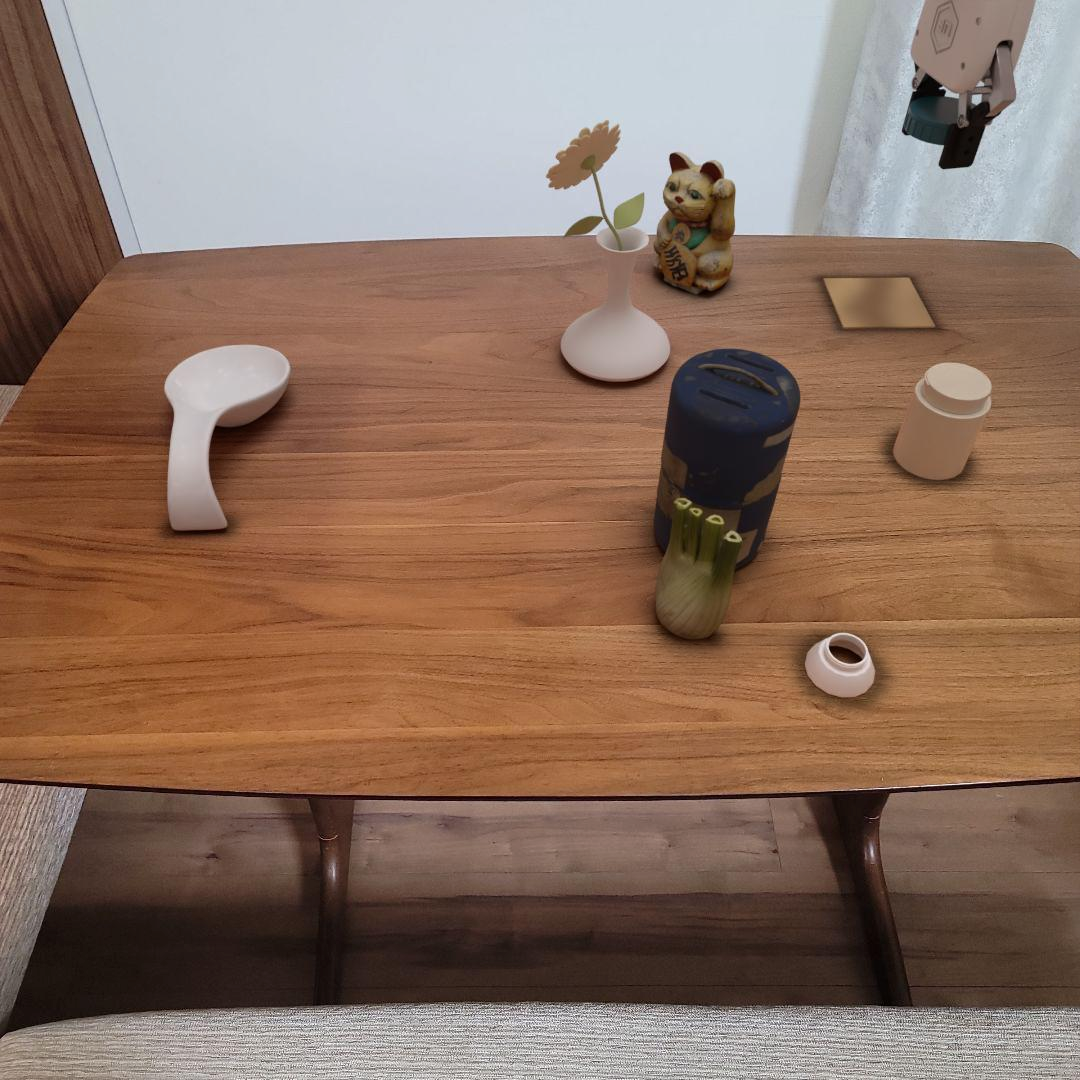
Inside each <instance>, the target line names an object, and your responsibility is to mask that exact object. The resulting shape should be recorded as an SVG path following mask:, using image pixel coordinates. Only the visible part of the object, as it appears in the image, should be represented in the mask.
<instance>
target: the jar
mask: <svg viewBox="0 0 1080 1080" xmlns="http://www.w3.org/2000/svg"><path fill="white" fill-rule="evenodd" d="M992 389H993V385H992V382H991V380H990V378H989V377H988V376H987V375H986V374H985V373H984V372H983V371H981V370H979V369H977V368H975V367H973V366H971V365H968V364H965V363H961V362H960V363H959V362H948V361H947V362H940V363H937V364H935V365H933V366H931V367H929V368H928V369H927V370H926V371H925V373H924V375H923V378H921V379H920V380H919V381H918V382H917V383H916V385H915V387H914V390H913V393H912V395H911V398H910V401H909V404H908V406H907V410H906V412H905V414H904V417H903V420H902V423H901V426H900V428H899V431H898V434H897V437H896V439H895V441H894V445H893V449H892V452H893V458H894V459H895V461H896V462H897V464H898V465H899V466H900V467H902V469H904V470H905V471H907V472H908V473H910V474H912V475H915V476H917V477H919V478H924V479H926V480H933V481H942V480H950V479H952V478H955V477H956V476H959V475H960V474H961V473H962V472H963V471H964V469H965V466H966V464H967V462H968V459H969V458H970V455H971V453H972V450H973V449H974V446H975V444H976V442H977V439H978V437H979V434H980V433H981V430H982V428H983V427H984V423H985V422H986V419H987V416H988V415H989V412H990V410H991V407H992V399H991V395H992Z"/></svg>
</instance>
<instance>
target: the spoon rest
mask: <svg viewBox="0 0 1080 1080" xmlns="http://www.w3.org/2000/svg"><path fill="white" fill-rule="evenodd" d="M291 372H292V369H291V364H290V361H289V360H288V358H287V357H286V355H284V354H283V353H282V352H280V351H278V350H277V349H274V348H272V347H268V346H264V345H257V344H234V345H233V344H232V345H223V346H218V347H213V348H210V349H205V350H203V351H200V352H198V353H195V354H193V355H191V356H189V357H187V358H185V359H184V360H183V361H181V362H180V363H178V364H177V365H176V366H175V367H174V368H172V370H171V371H170V372H169V374H168V375H167V377H166V379H165V382H164V385H163V386H164V387H163V392H164V395H165V396H166V399H167V401H168V402H169V404H170V405H171V407H172V409H173V423H172V428H171V435H170V441H169V443H170V444H169V451H168V452H169V453H168V462H167V463H168V464H167V466H168V467H167V485H166V487H167V489H166V490H167V491H166V492H167V495H166V496H167V497H166V500H167V512H168V519H169V523H170V526H171V529H173V530H175V531H206V530H207V531H209V530H221V529H226V528H227V527H228V521H227V519H226V516H225V514H224V512H223V510H222V507H221V504H220V502H219V500H218V498H217V495H216V492H215V489H214V486H213V484H212V483H213V482H212V479H211V474H210V460H209V459H210V448H211V447H210V446H211V441H212V436H213V433H214V430H215V427H216V426H217V427H222V428H236V427H241V426H245V425H248V424H251V423H252V422H254V421H256V420H258V419H259V418H260V417H262V416H263V415H265V414H266V413H267V412H269V411H270V410H271V409H272V408H273V407H274V406H275V405H276V404H277V403H278V402H279V401H280V399H281V398H282V396H283V395H284V393H285V392H286V390H287V387H288V386H289V385H288V384H289V381H290V377H291Z"/></svg>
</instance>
